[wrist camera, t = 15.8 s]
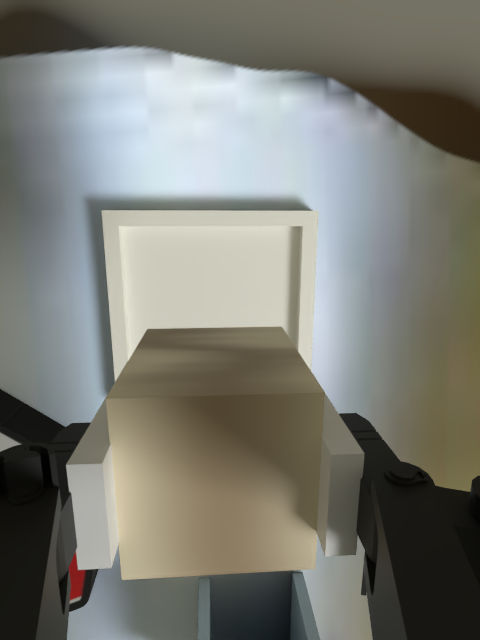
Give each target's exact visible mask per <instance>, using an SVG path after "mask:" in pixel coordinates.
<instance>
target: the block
mask: <svg viewBox="0 0 480 640" xmlns="http://www.w3.org/2000/svg"><path fill="white" fill-rule="evenodd" d="M324 398H325V392H324V390H323V389H322V387H321V386H320V384H319V383H318V381H317V380H316V378H315V377H314V375H313V374H312V372H311V370H310V369H309V367H308V366H307V364H306V363H305V361H304V360H303V358H302V357H301V355H300V354H299V352H298V351H297V349H296V347H295V346H294V344H293V343H292V341H291V340H290V338H289V337H288V335H287V334H286V332H285V331H284V329H283V328H282V326H280V327H225V328H169V329H147V330H146V332H145V334H144V335H143V337H142V339H141V340H140V342H139V344H138V345H137V347H136V349H135V350H134V352H133V354H132V356H131V357H130V359H129V361H128V362H127V364H126V366H125V367H124V369H123V371H122V372H121V374H120V376H119V377H118V379H117V381H116V382H115V384H114V386H113V388H112V389H111V391H110V393H109V394H108V396H107V398H106V406H107V417H108V429H109V440H110V444H111V448H112V460H113V472H114V484H115V496H116V508H117V520H118V532H119V555H120V566H121V578H122V580H133V579H150V578H167V577H185V576H202V575H220V574H237V573H255V572H272V571H289V570H307V569H315V566H316V547H317V517H318V499H319V482H320V464H321V446H322V435H323V417H324Z"/></svg>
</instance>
